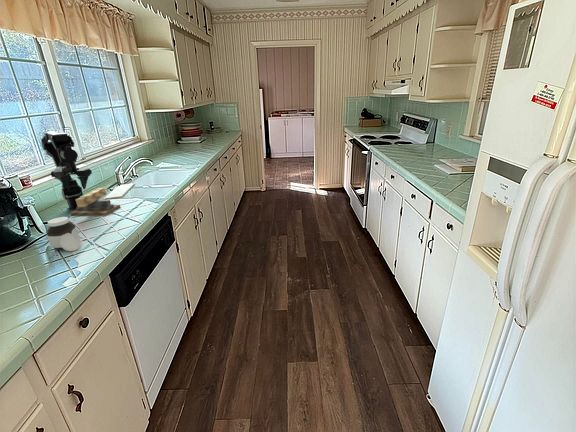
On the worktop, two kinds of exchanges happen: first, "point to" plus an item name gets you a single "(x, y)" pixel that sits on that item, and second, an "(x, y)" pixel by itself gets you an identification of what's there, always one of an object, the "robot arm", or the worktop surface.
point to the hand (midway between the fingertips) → (76, 189)
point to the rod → (90, 197)
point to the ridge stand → (96, 208)
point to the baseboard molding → (119, 191)
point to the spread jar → (63, 234)
